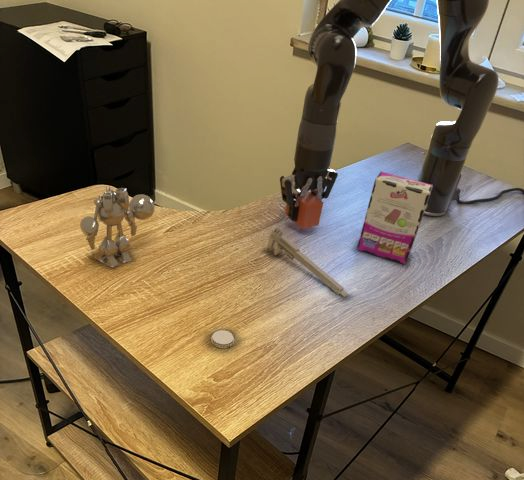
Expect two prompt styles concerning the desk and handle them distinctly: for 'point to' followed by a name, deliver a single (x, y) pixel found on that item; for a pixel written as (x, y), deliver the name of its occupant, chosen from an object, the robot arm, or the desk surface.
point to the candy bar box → (393, 216)
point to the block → (308, 211)
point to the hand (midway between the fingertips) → (302, 217)
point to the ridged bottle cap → (222, 338)
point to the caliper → (301, 259)
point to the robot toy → (115, 223)
